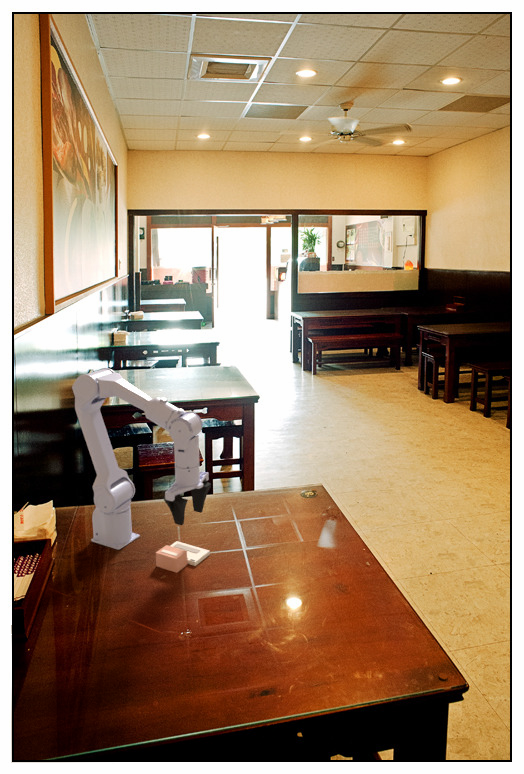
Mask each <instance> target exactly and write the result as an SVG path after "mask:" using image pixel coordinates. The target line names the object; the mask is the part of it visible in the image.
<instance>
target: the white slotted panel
mask: <svg viewBox="0 0 524 774" xmlns="http://www.w3.org/2000/svg"><path fill="white" fill-rule="evenodd" d="M169 546H171V547H175V548H178V549H181V550H185V551H187V565H191V566H193V567H196V566H198V565H199V564H200V563H201V562H203V560H205V559H206V558H207V557H208V556H210V555H211V551H210V550H208V549H205V548H202V547H198V546H196V545H191V544H188V543H184V542H181V541H178V540H176V541H175V542H173V543H172V544H170V545H169Z"/></svg>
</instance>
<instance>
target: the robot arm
mask: <svg viewBox="0 0 524 774" xmlns="http://www.w3.org/2000/svg"><path fill="white" fill-rule="evenodd" d="M71 389H72V391H73V395H74V410H75V413H76V416H77V419H78V422H79V425H80V428H81V431H82V434H83V438H84V440H85V442H86V446H87V449H88V451H89V455H90V457H91V461H92V464H93V467H94V470H95V473H96V477H95V479H94V482H93V485H92V490H93V503H94V506H95V508H94V510H93V512H92V516H91V519H92V522H91V523H92V531H93V532H92V533H93V538H91V540H90V541H91V542H92V543H96V544H98V545H102V546H105V547H109V548H112V549H115V550H121V549H122V548H125V546H127V545H129V544H131V543H132V542H134V541H135V540H137V539H138V538H140V534H138V533H135V532H133V530H132V526H133V525H132V511H131V504H132V499H133V497H134V495H136V494H135V493H136V488H135V484H134V483H133V481H132V480H131V479H130V478H129V475H128V472H127V470H124V469H122V468H120V467H119V465H118V461H117V458H116V455H115V452H114V450H113V446H112V444H111V440H110V438H109V435H108V433H109V432H108V430H107V428H106V425H105V422H104V419H103V416H102V413H101V407H102V405H103V404H104V403H105V402H106V401H105V400H106V399H107V398H118V399H120V400H121V401H124V402H127V403H128V404H130V405H132V406H133V407H136V408H138V409H140V410H141V411H143V412H144V415H145V418H146V419H147V420H149V421H150V422H152V423H154V424H156V425H157V426H159V427H161V428H162V429H164V430H166V431H168V434H169V437H170V439H172V442H173V448H174V449H173V450H174V453H173V454H174V475H175V476H174V477H175V479H174V480H175V481H174V482H173V483H172V484H171V486H170V487H169V489H167V490H165V492H164V496H163V501H164V502H165V503H166V505H167V507H168V508H169V510H170V512H171V513H170V514H171V515H172V518H173V522H174V524H175V525H178V526H183V525H184V523H185V513H186V512H185V511H186V506H187V504H188V500H189V499H188V498H187V499H186V498H183V496H182V494H184V493H185V492H189V491H190V494H191V500H192V507H193V511H194V512H197V513H203V510H204V506H205V502H206V500H207V499H206V498H207V496H208V493H209V490H210V489H211V487H212V484H211V482H208V481H209V480H210V479H209V475H210V474H209V472H208V471H207V472H206V471H203V470H202V471H200V470H201V469H200V443H199V442H200V440H199V438H200V437H199V434H200V433H201V431H202V430H203V421H202V419H201V417H200V416H199V415H198V414H197V413H196V412H195V411H191V410H189V411H185V410H184V409H183V408H179V407H177V406H175V405H173V404H172V403H170V402H168V399H167V398H166V397H160V396H157V397H155V398H152V397H151V396H149V395H147V394H146V393H144V391H142V390H140V389H138V387H136V386H134V385H133V384H131V383H130V382H129V381H127V380H126V379H124V378H123V377H122V375H121V374H120V373H119V372H116V371H114V370H113V369H111V368H108V367H103V368H101V369H99V370H96V371H92V372H88V373H85V374H80V375H79V376H78V377H76V379H75V380H74V383H73V384H72V386H71Z"/></svg>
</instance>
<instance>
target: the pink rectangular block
mask: <svg viewBox="0 0 524 774" xmlns="http://www.w3.org/2000/svg"><path fill="white" fill-rule="evenodd" d="M155 564H156V565H155V566H156V567H158V568H160V569H163V570H167V571H170V572H174V573H176V574H177V573H179V572H180V571H181V570H183V569H184V568H185V567H186V566H188V564H187V551H185V550H181V549H178V548H175V547H171V546H170V545H168V544H166V545H164V546H162V548H160V549H158V550H157V551H156V552H155Z"/></svg>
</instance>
